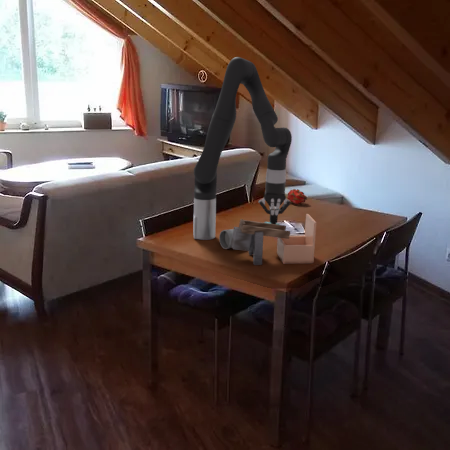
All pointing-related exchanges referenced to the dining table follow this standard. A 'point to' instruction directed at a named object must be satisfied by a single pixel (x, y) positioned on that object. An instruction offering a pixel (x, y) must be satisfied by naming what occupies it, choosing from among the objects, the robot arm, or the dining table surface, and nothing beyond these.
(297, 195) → the dragon fruit
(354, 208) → the dining table surface
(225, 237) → the ceramic mug
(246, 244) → the lever board
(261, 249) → the pivot stand
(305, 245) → the cup
